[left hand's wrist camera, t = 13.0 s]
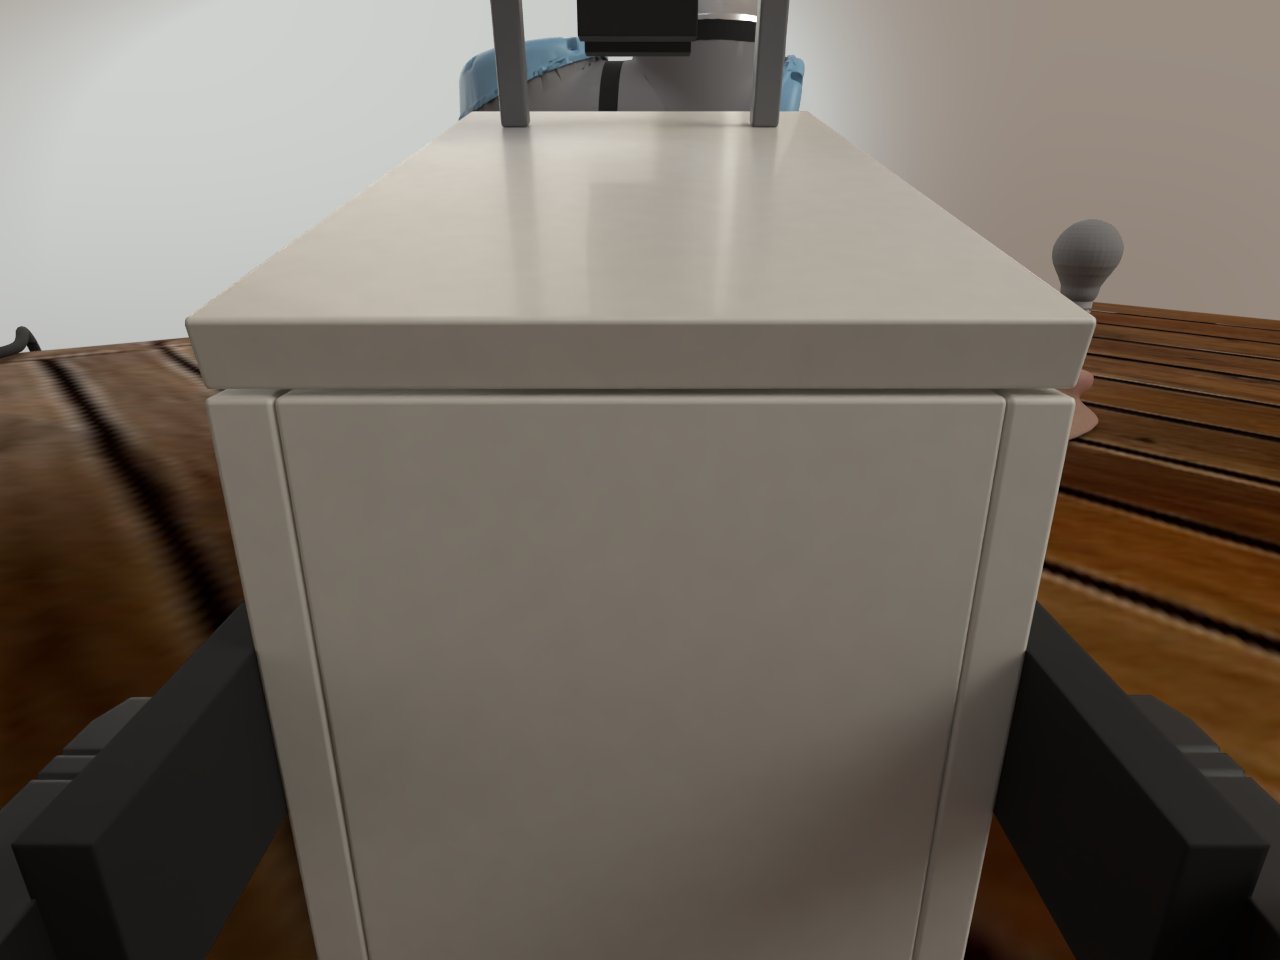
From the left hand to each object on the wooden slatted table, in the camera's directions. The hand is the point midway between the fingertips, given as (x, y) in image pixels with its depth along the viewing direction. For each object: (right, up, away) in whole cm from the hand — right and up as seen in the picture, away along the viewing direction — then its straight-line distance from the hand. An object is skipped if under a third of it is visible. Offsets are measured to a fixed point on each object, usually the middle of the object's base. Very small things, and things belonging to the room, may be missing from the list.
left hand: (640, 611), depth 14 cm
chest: (0, -4, +7) cm, 8 cm away
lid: (0, +8, +3) cm, 8 cm away
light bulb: (+43, +18, +64) cm, 80 cm away
